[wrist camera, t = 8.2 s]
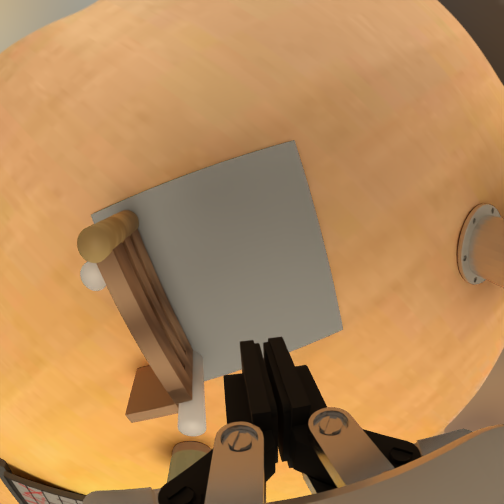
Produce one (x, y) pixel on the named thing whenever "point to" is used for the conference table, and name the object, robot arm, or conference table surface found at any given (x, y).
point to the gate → (140, 299)
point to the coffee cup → (185, 457)
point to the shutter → (35, 490)
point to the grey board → (230, 268)
